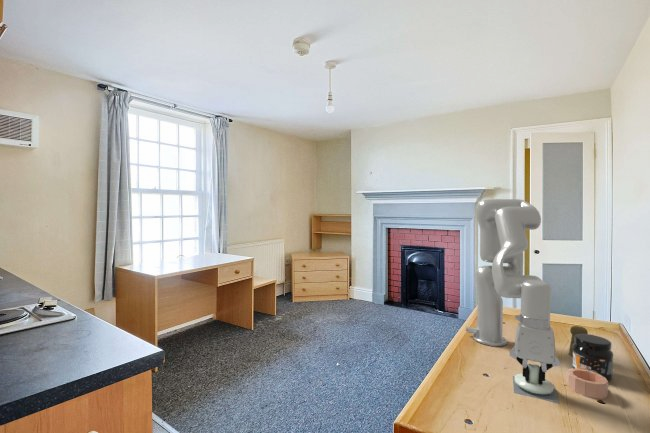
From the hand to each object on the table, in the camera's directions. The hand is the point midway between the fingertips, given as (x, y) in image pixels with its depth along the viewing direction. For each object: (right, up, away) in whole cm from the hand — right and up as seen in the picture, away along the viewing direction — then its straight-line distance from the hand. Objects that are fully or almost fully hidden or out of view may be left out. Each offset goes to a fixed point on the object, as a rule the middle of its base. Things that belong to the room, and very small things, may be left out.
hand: (533, 380), depth 99 cm
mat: (0, -3, -1) cm, 3 cm away
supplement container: (+26, -3, +9) cm, 28 cm away
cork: (+32, -3, +23) cm, 40 cm away
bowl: (+16, -3, -1) cm, 16 cm away
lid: (0, -1, 0) cm, 1 cm away
